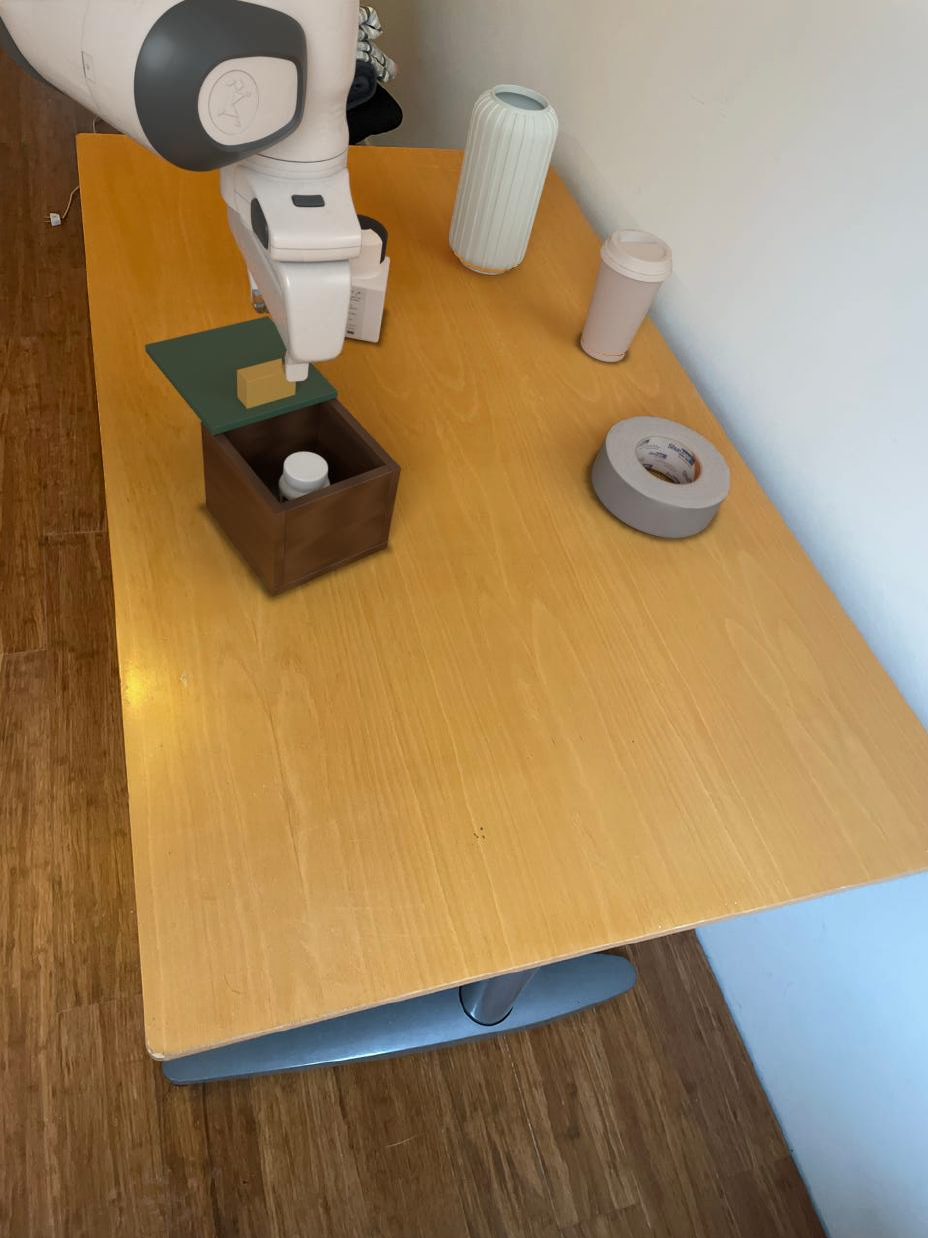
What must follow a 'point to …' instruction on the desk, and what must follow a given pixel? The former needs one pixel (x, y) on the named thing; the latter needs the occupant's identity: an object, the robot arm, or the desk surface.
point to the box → (310, 524)
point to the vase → (502, 176)
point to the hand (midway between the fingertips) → (278, 341)
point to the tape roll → (648, 496)
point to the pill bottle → (302, 475)
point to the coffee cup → (624, 291)
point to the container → (368, 282)
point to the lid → (236, 374)
